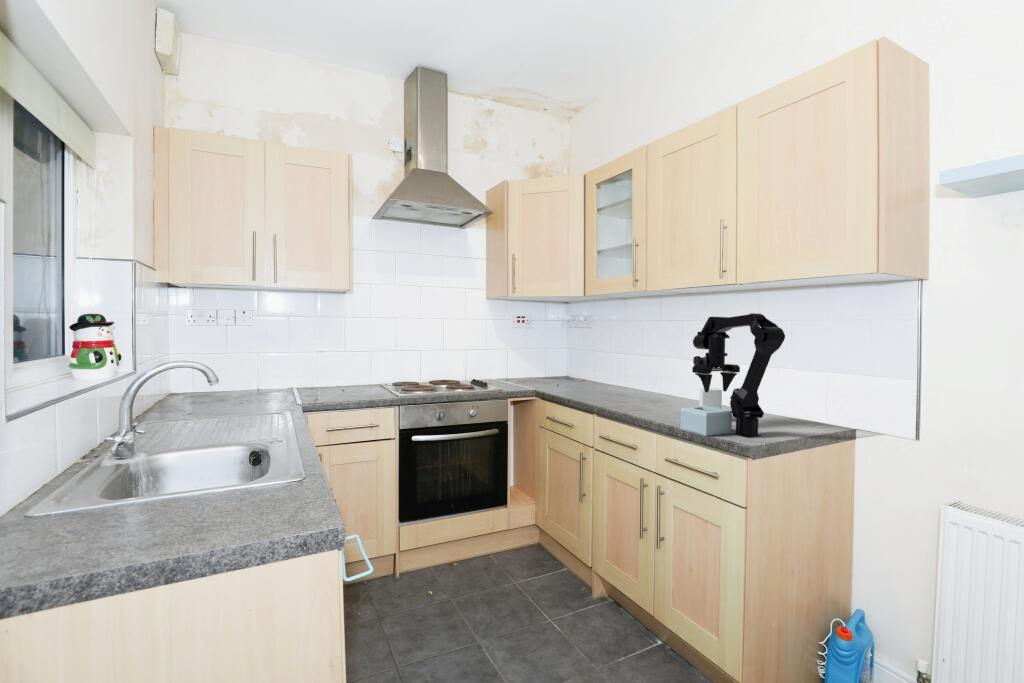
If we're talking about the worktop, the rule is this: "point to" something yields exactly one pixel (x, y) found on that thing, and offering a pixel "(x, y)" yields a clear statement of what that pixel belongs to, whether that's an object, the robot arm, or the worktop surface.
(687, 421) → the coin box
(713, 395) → the supplement box
